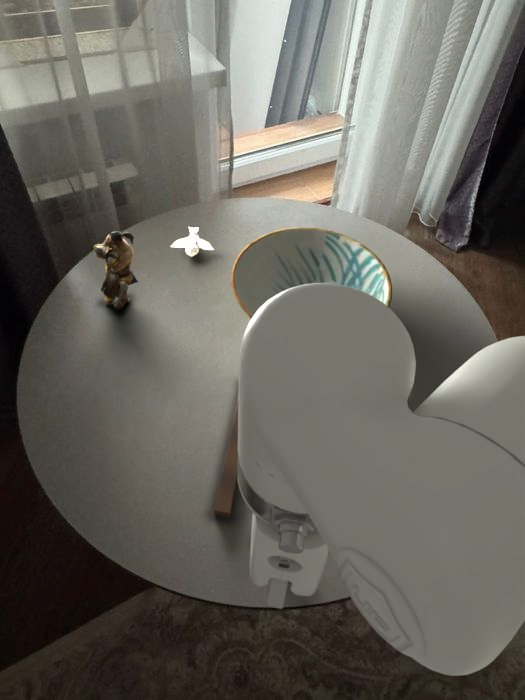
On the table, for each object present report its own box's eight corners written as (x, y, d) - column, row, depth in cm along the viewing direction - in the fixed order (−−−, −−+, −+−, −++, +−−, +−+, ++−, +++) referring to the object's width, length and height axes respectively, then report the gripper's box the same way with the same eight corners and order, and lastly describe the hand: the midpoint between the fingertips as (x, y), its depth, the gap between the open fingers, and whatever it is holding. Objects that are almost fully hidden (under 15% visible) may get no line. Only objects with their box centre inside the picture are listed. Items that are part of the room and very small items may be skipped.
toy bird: (168, 257, 90) (167, 231, 88) (173, 248, 94) (172, 223, 92) (212, 260, 90) (213, 235, 88) (216, 251, 94) (216, 226, 92)
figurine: (147, 292, 86) (134, 221, 74) (144, 317, 83) (130, 247, 71) (105, 292, 85) (85, 221, 74) (101, 317, 82) (79, 247, 70)
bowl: (255, 248, 94) (257, 213, 88) (389, 279, 91) (401, 245, 84) (209, 351, 79) (208, 317, 73) (368, 392, 76) (380, 361, 69)
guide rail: (229, 517, 63) (229, 513, 62) (214, 514, 63) (213, 510, 62) (255, 386, 75) (255, 380, 74) (242, 384, 76) (242, 378, 74)
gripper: (358, 617, 25) (312, 660, 40) (366, 368, 34) (326, 477, 49) (210, 591, 26) (218, 643, 40) (258, 352, 35) (251, 464, 50)
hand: (278, 551), depth 45 cm, fingers closed
